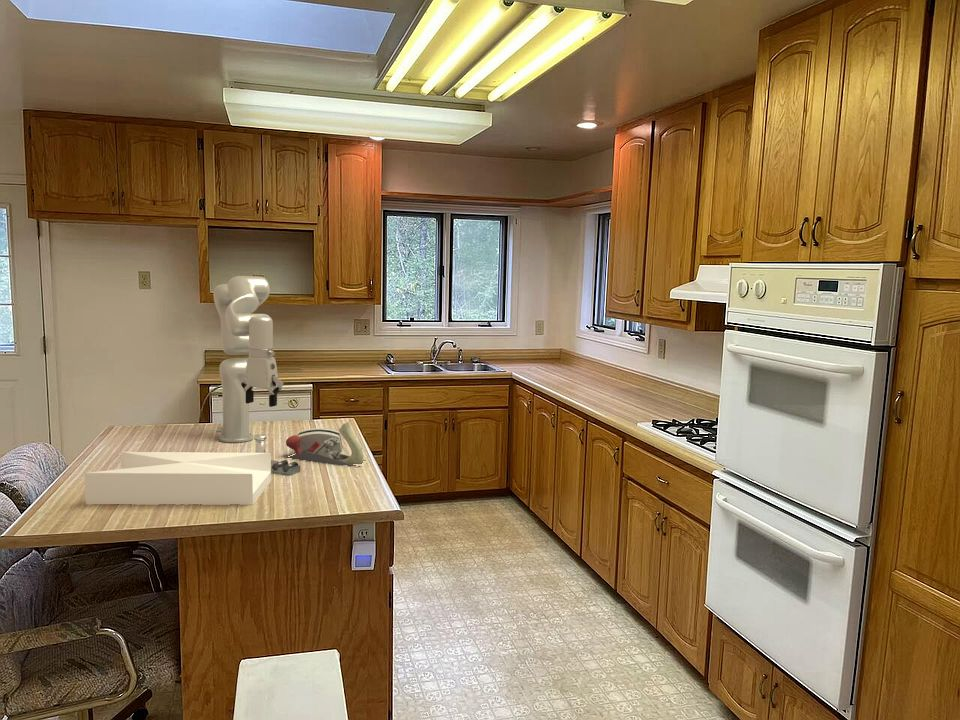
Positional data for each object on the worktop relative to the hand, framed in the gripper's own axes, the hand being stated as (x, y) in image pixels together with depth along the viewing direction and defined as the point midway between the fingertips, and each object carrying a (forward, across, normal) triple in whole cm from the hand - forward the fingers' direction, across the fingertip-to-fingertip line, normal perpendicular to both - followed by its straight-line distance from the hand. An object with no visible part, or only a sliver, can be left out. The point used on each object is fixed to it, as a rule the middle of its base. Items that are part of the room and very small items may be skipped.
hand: (261, 404), depth 225 cm
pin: (+21, -2, +3) cm, 21 cm away
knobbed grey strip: (+21, 0, +3) cm, 21 cm away
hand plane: (+22, -15, -15) cm, 30 cm away
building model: (+21, +1, +33) cm, 39 cm away
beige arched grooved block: (+22, -6, -24) cm, 33 cm away
